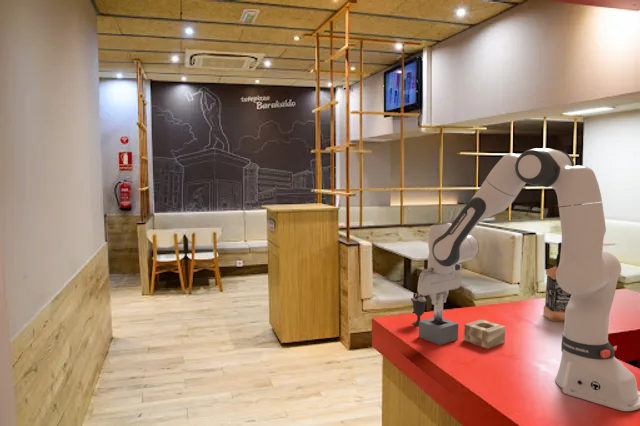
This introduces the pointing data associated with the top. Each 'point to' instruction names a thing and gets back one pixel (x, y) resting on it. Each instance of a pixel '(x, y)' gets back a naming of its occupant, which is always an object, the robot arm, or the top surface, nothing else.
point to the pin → (438, 309)
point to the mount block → (484, 333)
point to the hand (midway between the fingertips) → (438, 303)
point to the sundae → (418, 306)
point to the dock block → (438, 331)
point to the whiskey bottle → (555, 294)
